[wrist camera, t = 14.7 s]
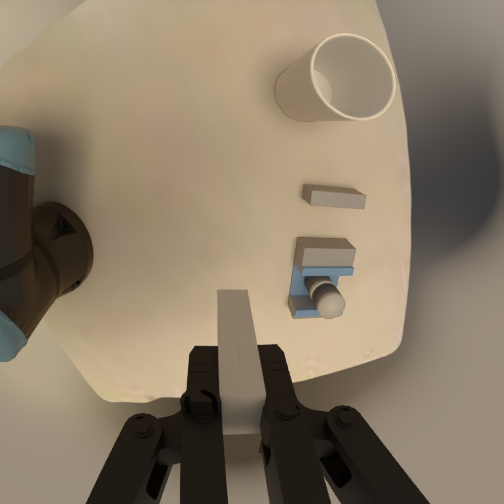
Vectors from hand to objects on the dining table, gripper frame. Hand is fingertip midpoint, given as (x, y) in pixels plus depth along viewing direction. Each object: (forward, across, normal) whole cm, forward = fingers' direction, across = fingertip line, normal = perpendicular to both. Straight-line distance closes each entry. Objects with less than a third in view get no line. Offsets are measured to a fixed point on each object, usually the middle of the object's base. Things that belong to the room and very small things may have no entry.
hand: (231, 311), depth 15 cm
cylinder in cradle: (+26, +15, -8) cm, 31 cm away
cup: (+27, +10, +15) cm, 32 cm away
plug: (+26, +15, -13) cm, 33 cm away
